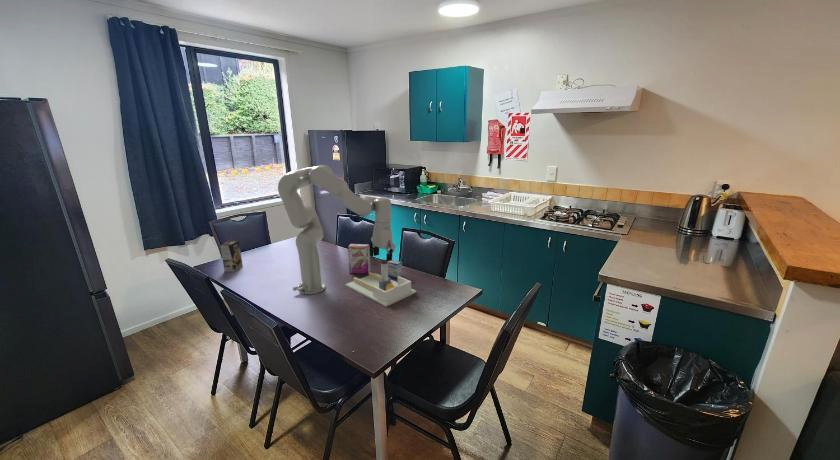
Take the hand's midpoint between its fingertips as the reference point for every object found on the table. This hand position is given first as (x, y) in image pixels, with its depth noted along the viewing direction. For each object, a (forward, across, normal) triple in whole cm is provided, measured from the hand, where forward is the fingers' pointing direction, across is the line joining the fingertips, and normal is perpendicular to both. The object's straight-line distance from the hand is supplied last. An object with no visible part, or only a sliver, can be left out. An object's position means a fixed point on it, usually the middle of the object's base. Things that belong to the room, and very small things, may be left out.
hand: (382, 257), depth 168 cm
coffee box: (+22, -86, -41) cm, 98 cm away
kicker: (+17, +1, +1) cm, 17 cm away
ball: (+15, +4, +1) cm, 15 cm away
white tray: (+18, -3, +1) cm, 18 cm away
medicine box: (+18, -10, +17) cm, 27 cm away
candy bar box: (+19, -28, +7) cm, 34 cm away
